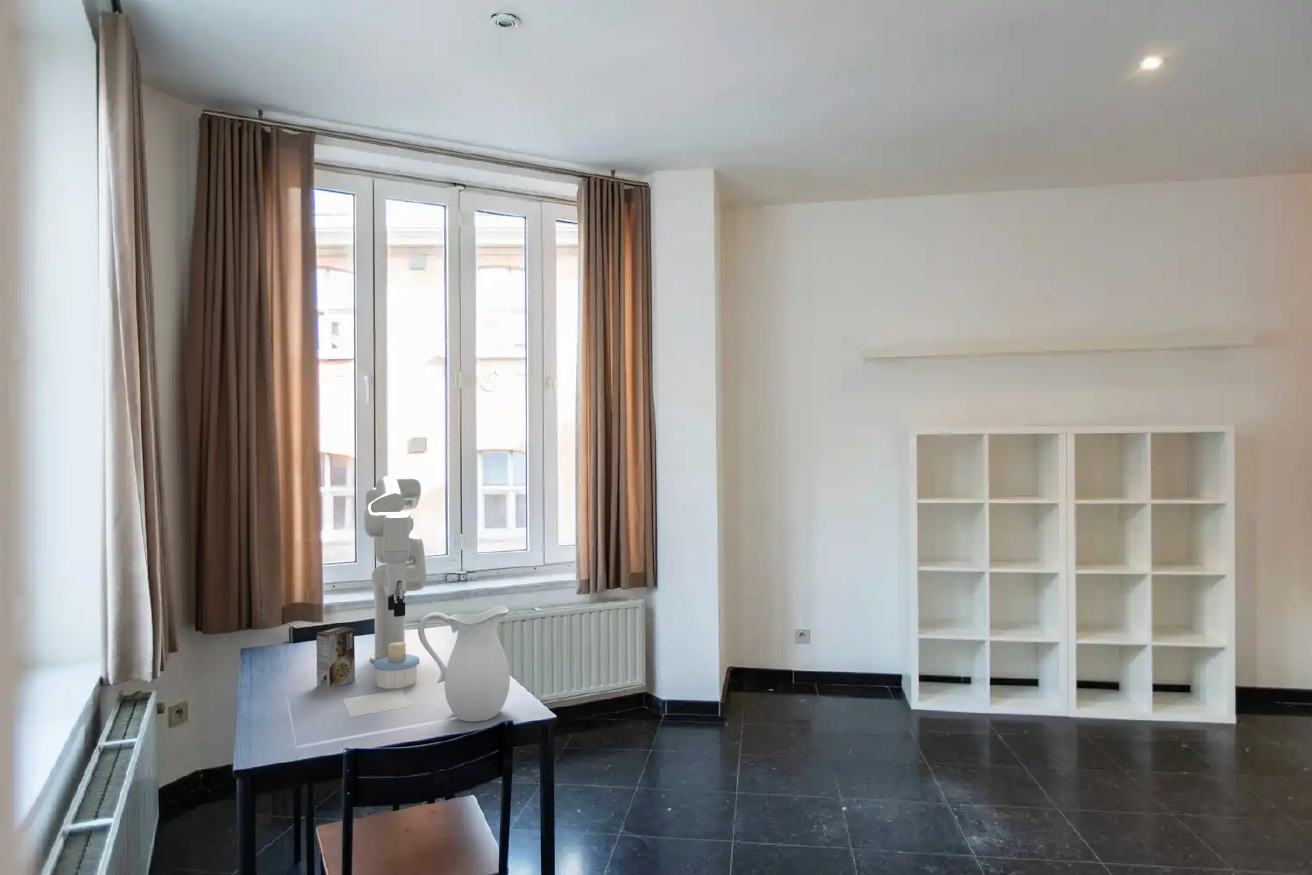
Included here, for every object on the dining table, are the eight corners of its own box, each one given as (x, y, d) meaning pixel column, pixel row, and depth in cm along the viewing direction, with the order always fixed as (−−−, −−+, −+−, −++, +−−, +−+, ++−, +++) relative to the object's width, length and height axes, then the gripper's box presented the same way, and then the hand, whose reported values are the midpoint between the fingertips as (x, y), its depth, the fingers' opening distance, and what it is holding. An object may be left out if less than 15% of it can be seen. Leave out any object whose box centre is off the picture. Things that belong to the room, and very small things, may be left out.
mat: (343, 701, 213) (343, 698, 213) (401, 691, 221) (401, 689, 221) (350, 719, 199) (350, 716, 199) (413, 708, 207) (412, 706, 207)
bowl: (374, 682, 230) (374, 662, 230) (412, 676, 236) (412, 657, 236) (380, 692, 221) (380, 671, 221) (419, 686, 226) (419, 666, 226)
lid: (370, 661, 231) (370, 642, 231) (414, 655, 237) (414, 636, 237) (377, 673, 219) (377, 652, 220) (423, 666, 226) (423, 646, 226)
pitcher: (514, 703, 211) (513, 602, 211) (504, 725, 194) (503, 616, 194) (427, 704, 210) (427, 604, 210) (410, 727, 193) (409, 618, 193)
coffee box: (342, 677, 235) (341, 625, 235) (355, 681, 231) (355, 628, 232) (315, 686, 227) (315, 632, 227) (329, 689, 224) (329, 634, 224)
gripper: (378, 553, 234) (378, 608, 234) (388, 561, 219) (388, 620, 219) (403, 551, 238) (403, 605, 238) (414, 559, 223) (415, 617, 223)
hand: (396, 612), depth 229 cm, fingers open, 9 cm apart
